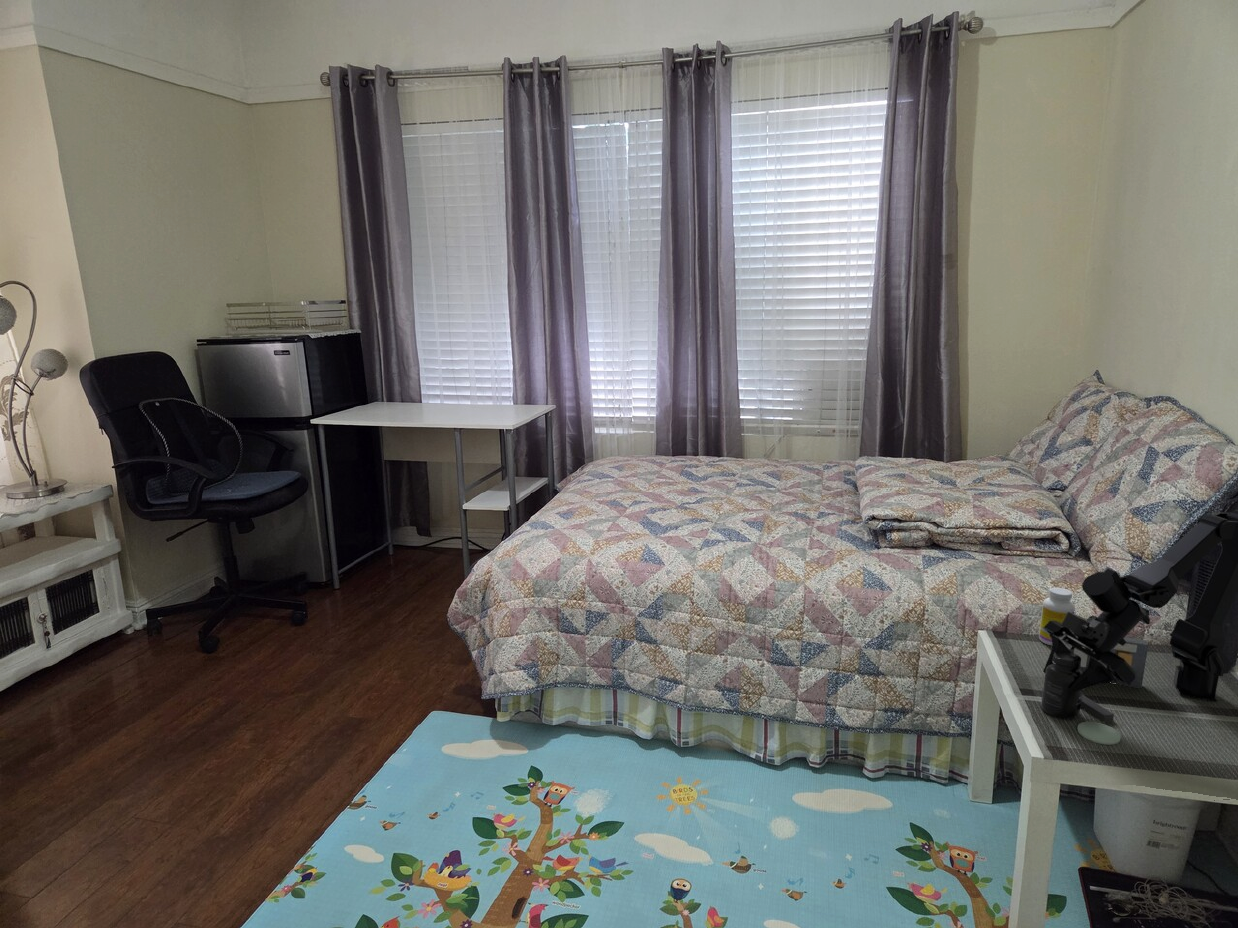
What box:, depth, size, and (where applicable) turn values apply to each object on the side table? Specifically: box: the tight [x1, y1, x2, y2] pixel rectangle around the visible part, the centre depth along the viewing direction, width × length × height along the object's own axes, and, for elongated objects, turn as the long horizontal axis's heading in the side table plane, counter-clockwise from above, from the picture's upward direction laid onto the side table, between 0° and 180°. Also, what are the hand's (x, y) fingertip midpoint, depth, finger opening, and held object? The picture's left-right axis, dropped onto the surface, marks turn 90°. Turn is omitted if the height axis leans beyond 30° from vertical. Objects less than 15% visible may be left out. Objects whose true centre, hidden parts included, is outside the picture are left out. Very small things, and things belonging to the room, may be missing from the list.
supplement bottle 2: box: [1040, 651, 1084, 720], centre depth 159 cm, size 7×7×12 cm
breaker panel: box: [1069, 629, 1149, 689], centre depth 172 cm, size 16×3×10 cm, turn 66°
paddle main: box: [1118, 652, 1132, 666], centre depth 169 cm, size 2×1×4 cm, turn 66°
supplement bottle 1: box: [1038, 587, 1076, 647], centre depth 190 cm, size 7×7×13 cm
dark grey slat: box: [1080, 694, 1115, 723], centre depth 164 cm, size 14×2×2 cm, turn 15°
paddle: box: [1074, 647, 1088, 667], centre depth 172 cm, size 2×1×4 cm, turn 67°
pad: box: [1077, 721, 1122, 746], centre depth 153 cm, size 7×7×1 cm
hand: (1057, 681), depth 159 cm, fingers closed on supplement bottle 2, 7 cm apart
